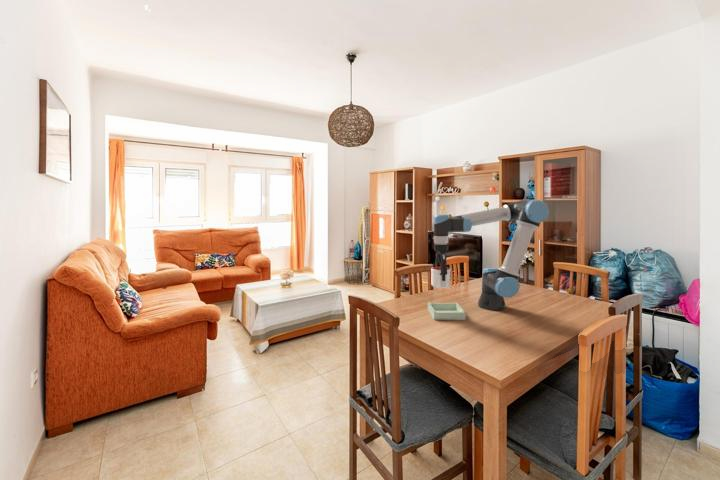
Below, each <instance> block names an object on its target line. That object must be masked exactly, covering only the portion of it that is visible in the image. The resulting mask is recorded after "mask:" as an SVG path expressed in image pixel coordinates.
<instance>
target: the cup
mask: <svg viewBox="0 0 720 480" xmlns="http://www.w3.org/2000/svg"><path fill="white" fill-rule="evenodd" d="M440 273H441V269H440V267H435V266H434V267H433V266H432V267H431V269H430V275H431V276H430V277H431V279H430V280H431V283H430V284H431V286H432V287H433V288H437V289H446V288H449V287H450V286H451V267H447V274H446V287H440Z"/></svg>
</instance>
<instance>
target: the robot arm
mask: <svg viewBox="0 0 720 480" xmlns="http://www.w3.org/2000/svg"><path fill="white" fill-rule="evenodd" d="M549 213H550V211H549V207H548V205H547V204H546V202H544V201H543V200H539V199H522V200H518V201H514V202H511V203H506V204H504V205H503V206H501V207H496V208H490V209H485V210H481V211H475V212H471V213H470V212H469V213H465V214H459V215H455V216H452V215H451V216H449V215H448V214H436V215H434V216H433V217H434V218H433V237H432V239H433V243H434V244H433V250H434V251H435V265H434V267H440V269H441V273H440V287H446V274H447V266H448V264H447V255H446V254H445V253H446V252H448V251H449V233H465V232H466V233H468V232H471V230H472V227H476V226H480V225H485V224H491V223H496V222H501V221H506V222H510V221H515V222H516V223H515V224H516V225H517V226H516V228H515V231H514V233H513V236H512V237H511V238H512V239H511V241H510V244H509V247H508V249H507V252H506V254H505V257H504V260H503V262H502V265H501V266H499V267H498V268H497V267H485V268H483V269H482V276H481V277H482V278H481V279H482V280H481V293H480V296H479V297H478V300H477V306H478V307H480V308H482V309H485V310H488V311H489V310H490V311H503V310H505V309H506V301H505V298H506V299H507V298H512V297H514V296H516V295H517V294H518V293H519V290H520V289H521V288H520V287H521V286H520V283H519V280H520V277H521V275H520V273H519V271H520V268H521V266H522V263H523V260H524V257H525V255H526V253H527V250H528V247H529V245H530V243H531V240H532V237H533V236H534V235H533V234H534V232H535V230H537V229H539V228H540V225H541V223H542V222H545V221H546V220H547V218H548V217H549Z"/></svg>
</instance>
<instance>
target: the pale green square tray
mask: <svg viewBox="0 0 720 480" xmlns="http://www.w3.org/2000/svg"><path fill="white" fill-rule="evenodd" d="M427 311H428V313H429V314H430V316H431V317H432V319H433V320H434V321H466V315H467V313H466V310H464V309H463V307H461V305H460V304H459V303H458V302H430V301H428V302H427Z"/></svg>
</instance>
